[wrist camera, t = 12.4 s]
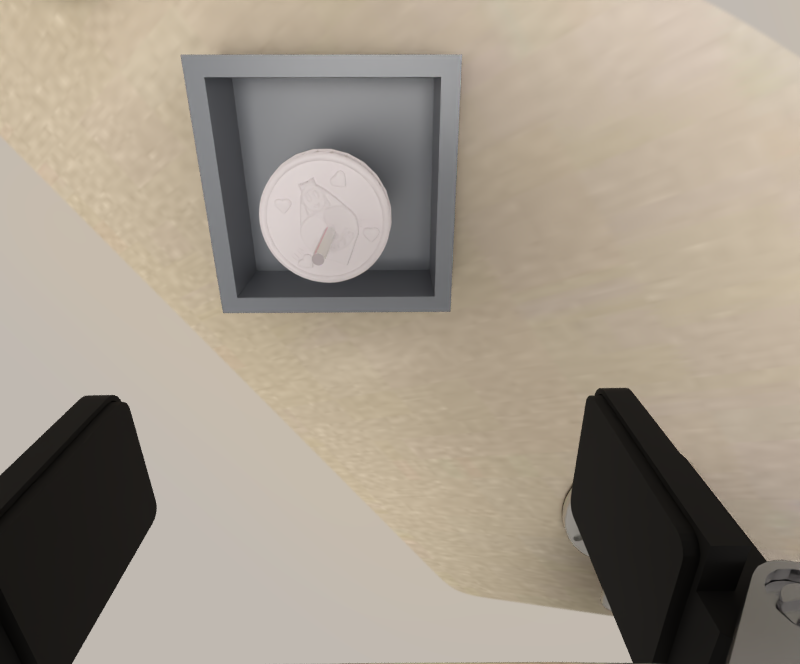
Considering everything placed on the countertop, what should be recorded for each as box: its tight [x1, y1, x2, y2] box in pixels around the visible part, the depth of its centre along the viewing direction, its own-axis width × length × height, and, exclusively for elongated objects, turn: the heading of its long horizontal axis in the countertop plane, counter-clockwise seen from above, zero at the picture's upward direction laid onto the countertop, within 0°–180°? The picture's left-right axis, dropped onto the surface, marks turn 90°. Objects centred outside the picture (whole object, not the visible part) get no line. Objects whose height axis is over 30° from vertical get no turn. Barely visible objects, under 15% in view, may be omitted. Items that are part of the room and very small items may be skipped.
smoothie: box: [259, 149, 392, 283], centre depth 27 cm, size 6×6×14 cm
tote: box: [181, 55, 462, 313], centre depth 31 cm, size 14×14×6 cm
